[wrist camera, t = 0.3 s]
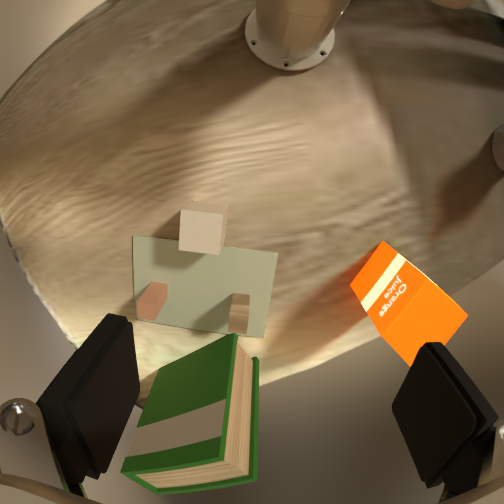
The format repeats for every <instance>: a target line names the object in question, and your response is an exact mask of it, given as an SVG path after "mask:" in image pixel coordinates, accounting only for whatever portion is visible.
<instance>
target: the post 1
mask: <svg viewBox="0 0 504 504" xmlns="http://www.w3.org/2000/svg"><path fill="white" fill-rule="evenodd" d="M167 287H168V284H166V283H160V282H153V281H152V282H151V283H150V285H149V286H148V287H147V289H146V290H145V291H144V293H143V294H142V295H141V297H140V298H139V300H138V301H137V315H138V318H141V319H147V320H152V321H155V319H156V318H157V316H158V314H159V312H160V310H161V309H162V307H163V305H164V303H165V302H166V300H167Z"/></svg>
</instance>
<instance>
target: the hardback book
mask: <svg viewBox="0 0 504 504" xmlns="http://www.w3.org/2000/svg"><path fill="white" fill-rule="evenodd" d="M237 339H238V335H237V334H236V333H231V334H229V335H227V336H225V337H224V338H222V339H220V340H218V341H216V342H214V343H212V344H210V345H208V346H206V347H204V348H202V349H200V350H197V351H195V352H193V353H191V354H189V355H187V356H185V357H183V358H181V359H179V360H177V361H175V362H172V363H170V364H168V365H166V366H164V367H162V368H160V369H159V371H158V373H157V376H156V378H155V381H154V383H153V386H152V388H151V391H150V393H149V396H148V399H147V401H146V404H145V406H144V409H143V412H142V414H141V417H140V419H139V422H138V425H137V428H136V430H135V433H134V435H133V438H132V441H131V444H130V446H129V449H128V452H127V455H126V458H125V460H124V463H123V466H122V469H121V473H122V474H123V475H125V476H127V477H128V478H130V479H131V480H133V481H135V482H136V483H138V484H140V485H142V486H143V487H145V488H147V489H149V490H150V491H152V492H154V493H156V494H158V495H159V494H175V493H186V492H194V491H202V490H209V489H217V488H223V487H229V486H234V485H239V484H245V483H249V482H254V481H257V467H258V466H257V465H258V409H259V407H258V406H259V405H258V404H259V360H258V358H257V357H255V358H253V359H251V358H250V357H249V356H248V355H247V354H246V353H245V351H244V350H243V349H242V348H241V347H240V346H239V345H238V343H237Z"/></svg>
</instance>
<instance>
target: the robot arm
mask: <svg viewBox="0 0 504 504" xmlns="http://www.w3.org/2000/svg"><path fill="white" fill-rule="evenodd" d="M350 1H351V0H256V8H255V9H254V10H253V11H252V12H251V13H250V15H249V17H248V18H247V21H246V25H245V38H246V41H247V44H248V46H249V48H250V50H251V51H252V52H253V54H254V55H255V56H256V57H257V58H258V59H260V60H261V61H262V62H263V63H265V64H267V65H269V66H271V67H274V68H276V69H280V70H285V71H303V70H307V69H310V68H313V67H315V66H317V65H319V64H320V63H322V62H323V61H324V60H325V59H326V58H327V57H328V56H329V54H330V52H331V51H332V49H333V46H334V42H335V33H334V28H333V27H334V26H335V24H336V23H337V21H338V20H339V18H340V17H341V15H342V14H343V12H344V11H345V9H346V8H347V6H348V4H349V3H350ZM429 1H432V2H434V3H436V4H439V5H441V6H444V7H448V8H454V9H461V8H466V7H469V6H471V5H473V4H475V3H476V2H478V1H479V0H429ZM253 43H255V44H256V45H252V44H253ZM320 54H323V56H322V55H320ZM285 64H287V65H288V66H287V67H285V66H284V65H285ZM139 392H140V381H139V375H138V368H137V360H136V352H135V344H134V335H133V326H132V323H131V322H128V320H127V318H126V317H125V316H121V315H116V314H111V313H109V314H107V315H106V316H105V317H104V319H103V320H102V321H101V322H100V323H99V324H98V326H97V327H96V328H95V329H94V330H93V332H92V333H91V334H90V335H89V337H88V338H87V339H86V340H85V341H84V343H83V344H82V345H81V346H80V348H79V349H77V350H76V351H75V352H74V354H73V355H72V356H71V357H70V359H69V360H68V361H67V363H66V364H65V365H64V366H63V368H62V369H61V370H60V371H59V373H58V374H57V375H56V377H55V378H54V379H53V381H52V382H51V383H50V385H49V386H48V387H47V389H46V390H45V391H44V393H43V394H42V395H41V397H40V398H39V399H38V401H37V402H36V404H35V403H34V402H32V401H30V400H28V399H24V398H15V399H11V400H8V401H6V402H5V403H3V404H2V405H1V406H0V504H101V503H99V502H96V501H93V500H90V499H88V497H87V495H86V493H85V491H84V488H83V486H82V484H81V483H82V482H83V481H84V478H85V476H88V477H91V478H94V479H97V480H98V478H99V476H100V473H106V471H107V469H108V467H109V465H110V462H111V460H112V457H113V454H114V452H115V450H116V447H117V445H118V442H119V440H120V438H121V435H122V433H123V430H124V428H125V426H126V423H127V421H128V419H129V416H130V414H131V412H132V409H133V407H134V405H135V403H136V400H137V398H138V396H139ZM392 411H393V414H394V416H395V418H396V421H397V423H398V425H399V428H400V430H401V432H402V434H403V437H404V439H405V442H406V444H407V446H408V449H409V451H410V454H411V456H412V458H413V461H414V463H415V466H416V468H417V471H418V473H419V476H420V478H421V480H422V481H423V482H425V484H426V486H427V488H431V487H435V486H438V485H440V484H441V483H442V482H444V484H445V486H444V489H443V492H442V494H441V497H440V499H439V502H438V503H437V504H504V420H503V421H501V422H499V424H498V425H497V426H496V428H495V427H494V426H493V424H494V423H495V422H496V420H497V419H498V415H497V414H496V412H495V411H494V409H493V408H492V407H491V405H490V404H489V403H488V401H487V400H486V398H485V397H484V396H483V395H482V393H481V392H480V391H479V389H478V388H477V386H476V385H475V384H474V382H473V381H472V380H471V378H470V377H469V376H468V375H467V374H466V372H465V371H464V370H463V368H462V367H461V366H460V364H459V363H458V362H457V361H456V360H455V358H454V357H453V356H452V355H451V353H450V352H449V351H448V350H447V348H446V347H445V346H444V345H443V344H442V343H441V342H426V343H424V344H423V346H422V347H420V348H419V350H418V352H417V354H416V356H415V359H414V361H413V363H412V365H411V367H410V370H409V372H408V374H407V376H406V378H405V380H404V382H403V384H402V386H401V388H400V390H399V392H398V393H397V395H396V398H395V399H394V401H393V404H392Z"/></svg>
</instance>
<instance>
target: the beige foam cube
mask: <svg viewBox="0 0 504 504" xmlns="http://www.w3.org/2000/svg"><path fill="white" fill-rule="evenodd" d="M227 213H228V205H226V204H217V203H209V202H199V201H191V202H190V203H189V204H187V205H186V206H185V207H184V208H182V209H181V216H180V233H179V250H182V251H190V252H198V253H206V254H214V255H219V254H220V251H221V249H222V246H223V243H224V240H225V232H226V222H227Z"/></svg>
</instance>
